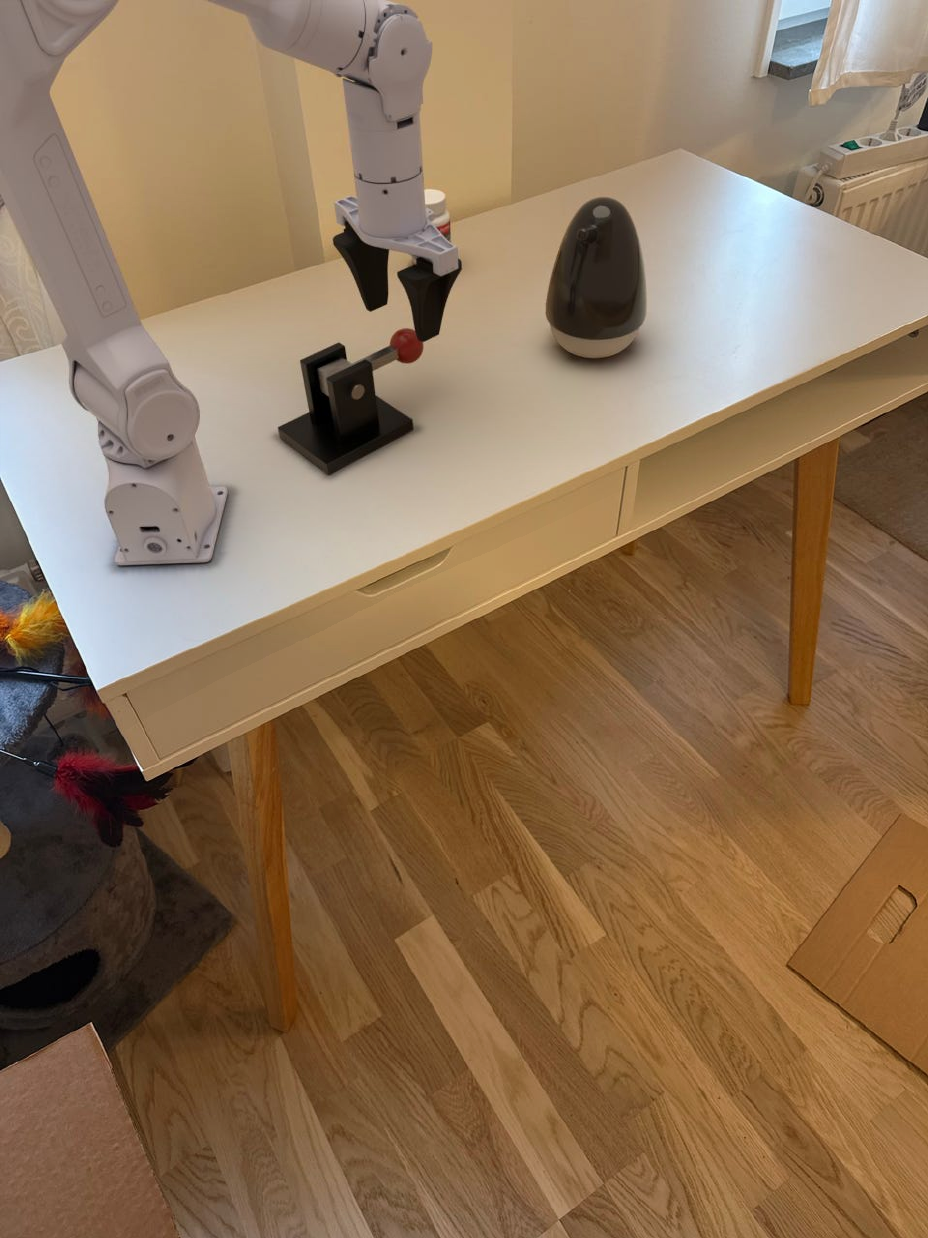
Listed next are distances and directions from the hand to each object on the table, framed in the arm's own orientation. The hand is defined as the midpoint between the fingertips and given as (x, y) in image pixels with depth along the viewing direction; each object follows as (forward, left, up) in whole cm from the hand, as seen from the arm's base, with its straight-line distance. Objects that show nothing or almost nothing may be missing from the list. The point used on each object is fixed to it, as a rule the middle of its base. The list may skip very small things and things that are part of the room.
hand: (402, 321), depth 86 cm
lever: (-3, +3, -4) cm, 6 cm away
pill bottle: (+28, -2, -9) cm, 29 cm away
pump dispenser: (+9, -19, -9) cm, 23 cm away
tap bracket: (-5, +6, -8) cm, 12 cm away
